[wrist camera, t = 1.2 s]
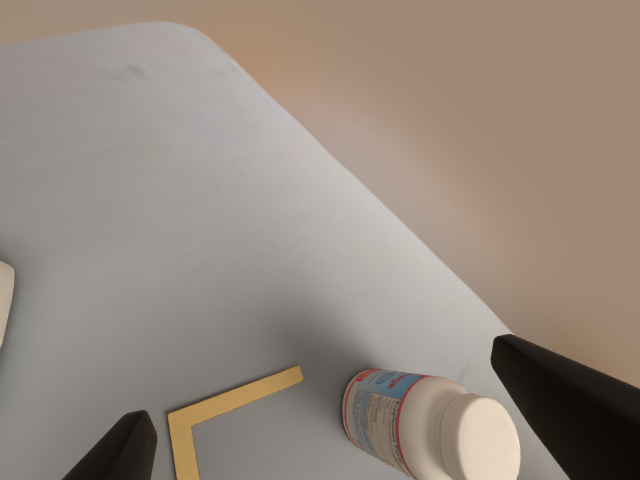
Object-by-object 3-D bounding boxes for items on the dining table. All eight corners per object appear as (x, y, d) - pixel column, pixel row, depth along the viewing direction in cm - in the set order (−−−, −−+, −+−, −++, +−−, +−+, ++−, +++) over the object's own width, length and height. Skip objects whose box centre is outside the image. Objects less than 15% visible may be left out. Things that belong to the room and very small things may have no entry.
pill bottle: (400, 372, 27) (522, 387, 18) (398, 451, 25) (538, 517, 16) (342, 364, 25) (446, 375, 16) (334, 449, 23) (450, 523, 13)
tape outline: (334, 513, 22) (335, 514, 22) (196, 606, 17) (196, 609, 17) (298, 364, 24) (299, 365, 24) (167, 413, 19) (167, 414, 19)
